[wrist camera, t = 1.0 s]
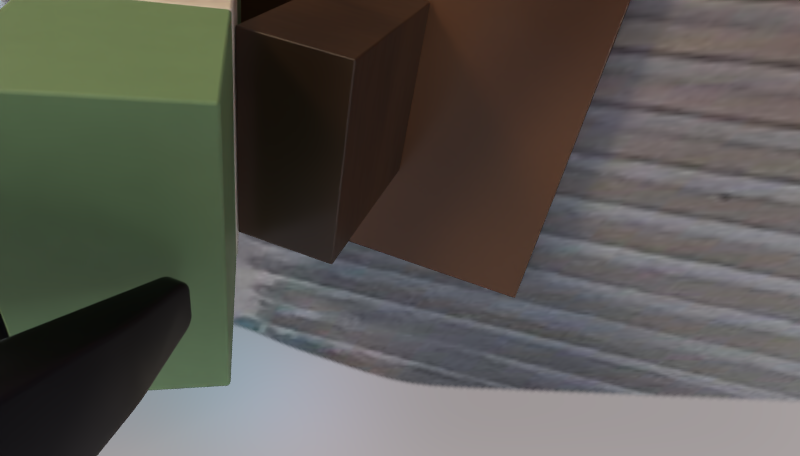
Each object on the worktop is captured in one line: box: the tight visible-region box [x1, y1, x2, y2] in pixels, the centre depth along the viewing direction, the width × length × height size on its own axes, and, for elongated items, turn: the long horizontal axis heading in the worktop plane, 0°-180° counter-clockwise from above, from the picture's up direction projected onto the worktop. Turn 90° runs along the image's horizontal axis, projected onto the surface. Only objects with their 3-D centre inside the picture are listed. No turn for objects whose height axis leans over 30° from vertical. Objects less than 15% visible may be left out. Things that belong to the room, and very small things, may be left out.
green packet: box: [0, 0, 241, 390], centre depth 15 cm, size 9×7×12 cm
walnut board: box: [235, 0, 630, 298], centre depth 18 cm, size 22×14×7 cm, turn 79°
